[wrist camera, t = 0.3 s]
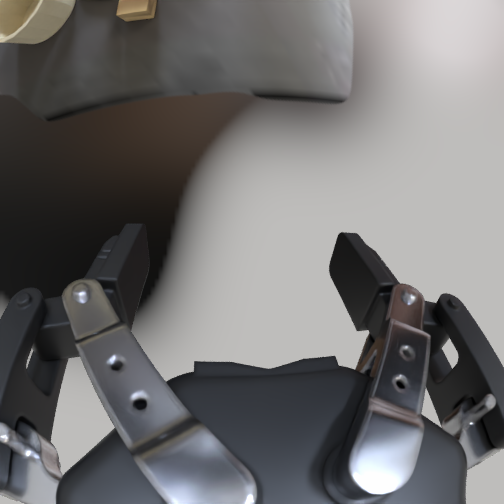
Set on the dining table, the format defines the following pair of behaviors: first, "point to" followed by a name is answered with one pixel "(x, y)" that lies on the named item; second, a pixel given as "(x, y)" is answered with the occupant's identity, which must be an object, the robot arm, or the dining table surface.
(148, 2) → the block
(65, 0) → the pot
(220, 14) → the dining table surface
